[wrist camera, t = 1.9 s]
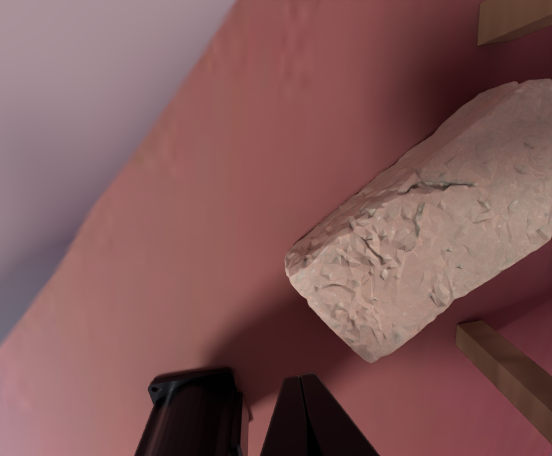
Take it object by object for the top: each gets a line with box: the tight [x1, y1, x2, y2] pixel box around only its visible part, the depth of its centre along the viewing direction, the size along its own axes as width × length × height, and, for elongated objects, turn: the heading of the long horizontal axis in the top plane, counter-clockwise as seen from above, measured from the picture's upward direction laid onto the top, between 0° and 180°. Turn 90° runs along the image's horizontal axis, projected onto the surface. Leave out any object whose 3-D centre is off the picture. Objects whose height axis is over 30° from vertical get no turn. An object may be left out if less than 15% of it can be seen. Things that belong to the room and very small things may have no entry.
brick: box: [285, 79, 552, 363], centre depth 17 cm, size 16×8×5 cm, turn 130°
